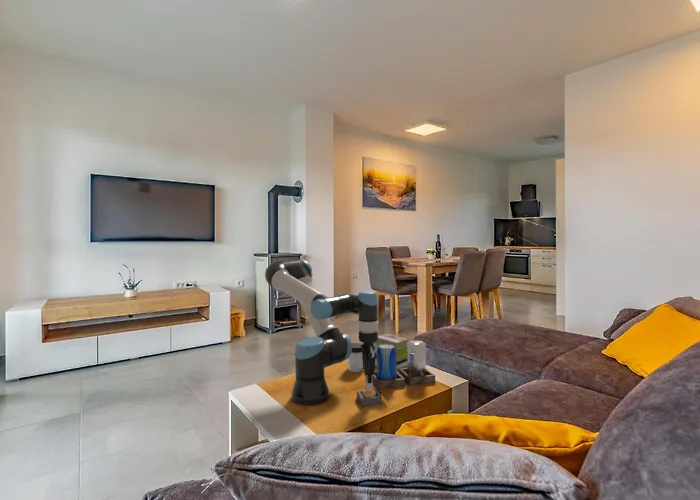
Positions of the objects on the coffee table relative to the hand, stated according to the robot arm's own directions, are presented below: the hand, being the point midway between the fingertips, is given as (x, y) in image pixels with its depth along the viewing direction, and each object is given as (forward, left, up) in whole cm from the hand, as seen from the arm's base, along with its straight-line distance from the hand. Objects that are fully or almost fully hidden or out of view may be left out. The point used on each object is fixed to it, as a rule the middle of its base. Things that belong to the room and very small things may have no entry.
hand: (368, 389), depth 142 cm
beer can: (+12, +12, -3) cm, 17 cm away
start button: (0, 0, -4) cm, 4 cm away
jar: (+4, +35, -5) cm, 35 cm away
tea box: (+22, +34, -5) cm, 41 cm away
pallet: (+19, +12, -5) cm, 23 cm away
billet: (+26, +12, -3) cm, 29 cm away
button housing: (0, 0, -5) cm, 5 cm away
